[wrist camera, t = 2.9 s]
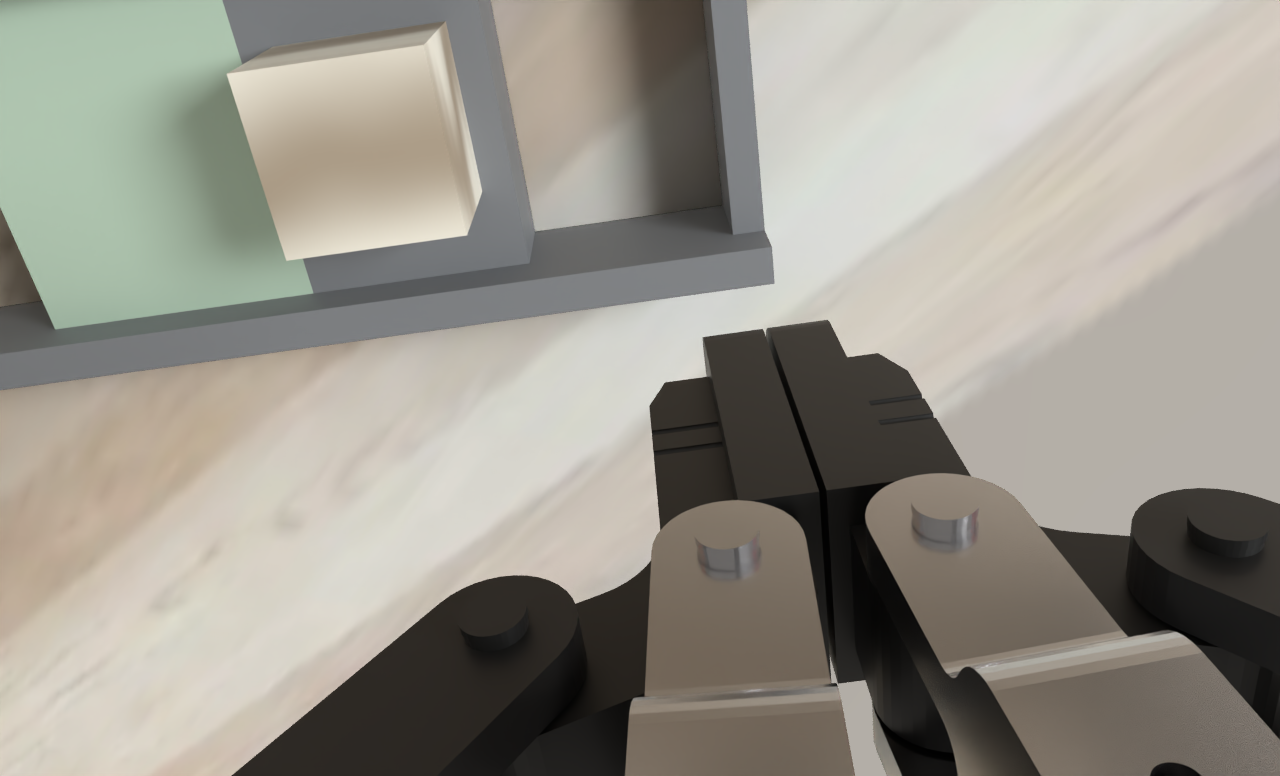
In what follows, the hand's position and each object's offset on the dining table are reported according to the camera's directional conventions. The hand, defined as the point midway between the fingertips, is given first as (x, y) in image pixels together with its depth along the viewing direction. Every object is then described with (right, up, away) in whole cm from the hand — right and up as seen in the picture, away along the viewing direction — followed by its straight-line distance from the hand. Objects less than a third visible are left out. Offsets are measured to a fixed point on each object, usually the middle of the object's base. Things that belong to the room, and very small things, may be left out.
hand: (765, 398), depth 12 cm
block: (-9, +8, +17) cm, 21 cm away
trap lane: (-13, +9, +20) cm, 26 cm away
